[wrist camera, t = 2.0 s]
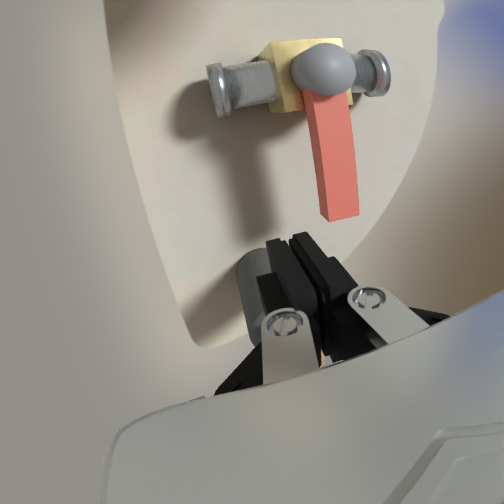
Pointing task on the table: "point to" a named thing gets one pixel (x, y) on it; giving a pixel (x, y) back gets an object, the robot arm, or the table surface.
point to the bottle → (254, 291)
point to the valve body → (287, 78)
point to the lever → (330, 125)
